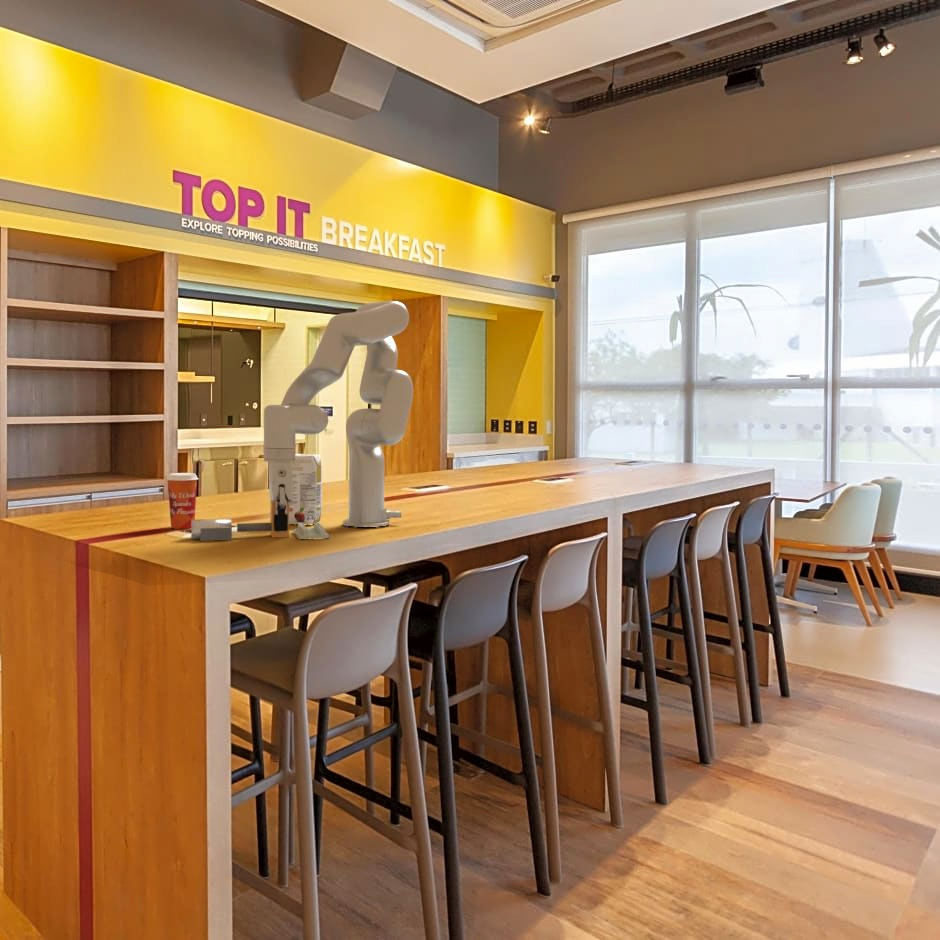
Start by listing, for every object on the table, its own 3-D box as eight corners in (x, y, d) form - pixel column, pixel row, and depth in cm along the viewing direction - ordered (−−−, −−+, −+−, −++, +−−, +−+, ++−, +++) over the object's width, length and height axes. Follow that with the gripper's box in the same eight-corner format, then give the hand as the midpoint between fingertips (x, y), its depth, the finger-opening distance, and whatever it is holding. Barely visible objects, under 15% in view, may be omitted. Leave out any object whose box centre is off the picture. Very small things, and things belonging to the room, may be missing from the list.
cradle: (321, 531, 202) (321, 522, 202) (329, 538, 192) (329, 529, 191) (294, 532, 200) (294, 523, 199) (299, 540, 189) (299, 530, 189)
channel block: (230, 534, 194) (230, 522, 194) (231, 540, 187) (231, 527, 187) (200, 535, 192) (200, 523, 192) (200, 541, 185) (200, 528, 184)
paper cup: (165, 530, 199) (164, 475, 198) (168, 525, 206) (167, 472, 205) (198, 529, 201) (197, 475, 200) (199, 525, 209) (199, 472, 207)
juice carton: (313, 526, 211) (313, 455, 209) (283, 524, 212) (283, 454, 211) (324, 522, 218) (324, 453, 216) (295, 521, 220) (295, 452, 218)
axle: (230, 535, 193) (230, 516, 192) (231, 540, 188) (231, 521, 188) (191, 536, 190) (191, 517, 189) (191, 542, 185) (191, 522, 185)
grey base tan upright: (286, 534, 197) (286, 498, 196) (288, 537, 193) (288, 500, 193) (236, 536, 193) (236, 499, 192) (237, 538, 189) (237, 501, 189)
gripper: (299, 457, 186) (299, 534, 188) (291, 453, 202) (290, 523, 204) (267, 457, 184) (267, 535, 185) (260, 453, 200) (260, 524, 201)
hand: (279, 528), depth 194 cm, fingers open, 4 cm apart
